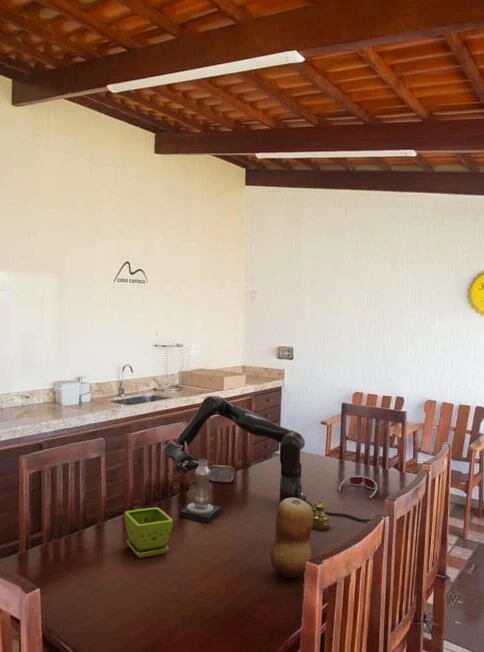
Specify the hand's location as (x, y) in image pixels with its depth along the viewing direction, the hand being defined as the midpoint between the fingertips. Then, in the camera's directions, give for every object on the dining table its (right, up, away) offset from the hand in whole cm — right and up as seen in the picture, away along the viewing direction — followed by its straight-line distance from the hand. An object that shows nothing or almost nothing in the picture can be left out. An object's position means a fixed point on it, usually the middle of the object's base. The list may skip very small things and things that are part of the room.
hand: (196, 470), depth 236 cm
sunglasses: (+82, -19, +32) cm, 90 cm away
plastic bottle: (+2, -13, -8) cm, 16 cm away
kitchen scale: (+2, -16, -8) cm, 18 cm away
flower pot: (-18, -16, -44) cm, 50 cm away
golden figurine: (+50, -19, -16) cm, 56 cm away
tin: (+13, -16, +37) cm, 42 cm away
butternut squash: (+31, -18, -58) cm, 68 cm away
